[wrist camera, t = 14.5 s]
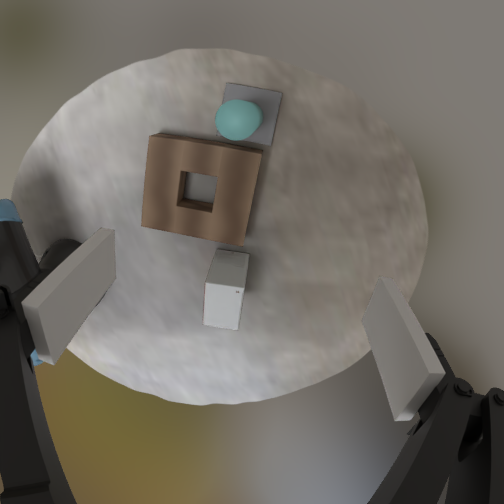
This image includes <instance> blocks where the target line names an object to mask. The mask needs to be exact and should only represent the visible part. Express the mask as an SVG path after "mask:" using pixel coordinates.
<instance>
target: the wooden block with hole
mask: <svg viewBox="0 0 504 504" xmlns="http://www.w3.org/2000/svg"><path fill="white" fill-rule="evenodd" d="M262 152H263V150H258V149H253V148H248V147H243V146H238V145H232V144H227V143H221V142H215V141H209V140H203V139H196V138H190V137H183V136H176V135H169V134H161V133H158V134H154V135H151V136H149V144H148V153H147V162H146V171H145V182H144V194H143V207H142V223H141V226H142V227H147V228H152V229H157V230H162V231H167V232H172V233H177V234H182V235H187V236H192V237H197V238H202V239H207V240H212V241H217V242H222V243H227V244H232V245H237V246H242V247H243V243H244V239H245V234H246V229H247V224H248V219H249V214H250V209H251V204H252V200H253V195H254V190H255V185H256V180H257V175H258V171H259V166H260V161H261V156H262ZM187 172H193V173H199V174H204V175H210V176H215V177H218V180H217V186H216V192H215V198H214V204H211V203H206V202H201V201H195V200H190V199H184V198H183V196H184V189H185V181H186V174H187Z"/></svg>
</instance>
